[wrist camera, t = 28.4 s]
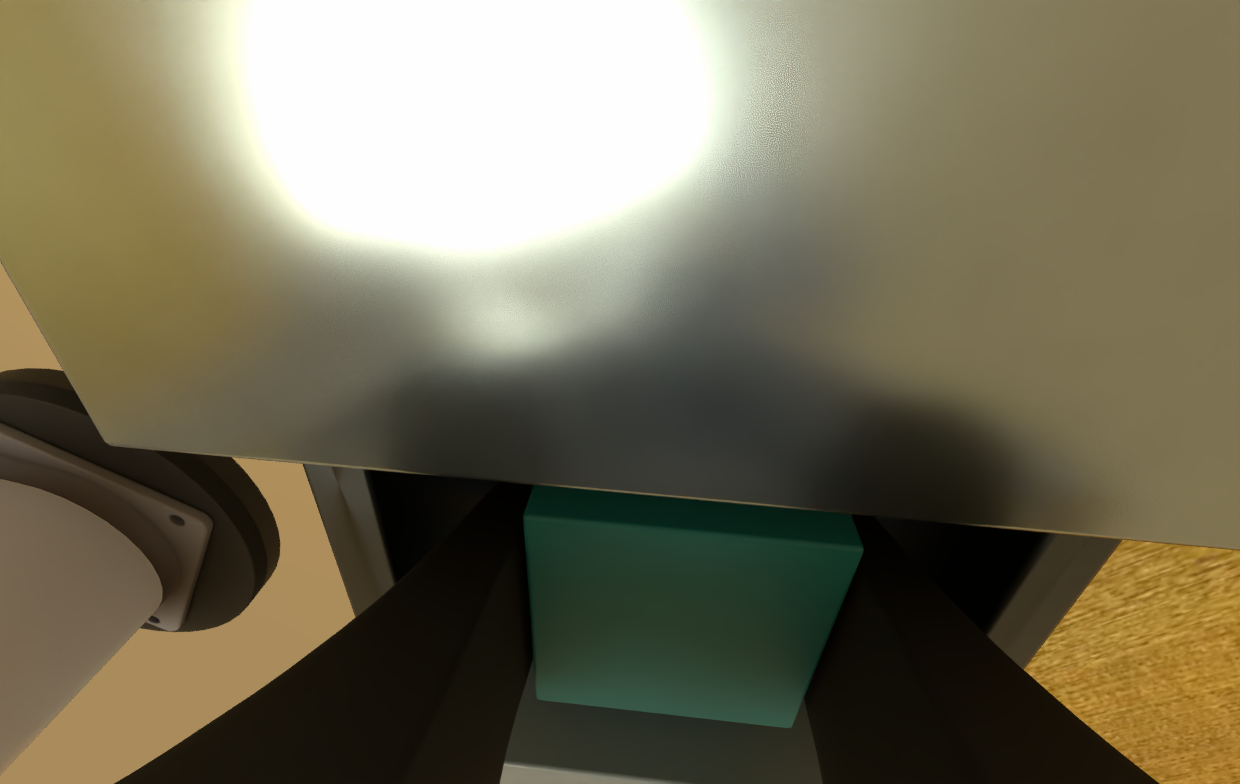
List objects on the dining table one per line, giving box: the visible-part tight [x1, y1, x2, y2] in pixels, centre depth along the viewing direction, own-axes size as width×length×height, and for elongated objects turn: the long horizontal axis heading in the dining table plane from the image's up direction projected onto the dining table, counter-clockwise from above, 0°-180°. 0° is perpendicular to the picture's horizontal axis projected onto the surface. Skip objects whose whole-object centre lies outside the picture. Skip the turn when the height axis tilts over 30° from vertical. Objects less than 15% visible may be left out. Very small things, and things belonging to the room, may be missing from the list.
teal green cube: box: [523, 485, 864, 728], centre depth 9 cm, size 4×4×4 cm
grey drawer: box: [303, 464, 1122, 784], centre depth 10 cm, size 16×10×6 cm, turn 178°
